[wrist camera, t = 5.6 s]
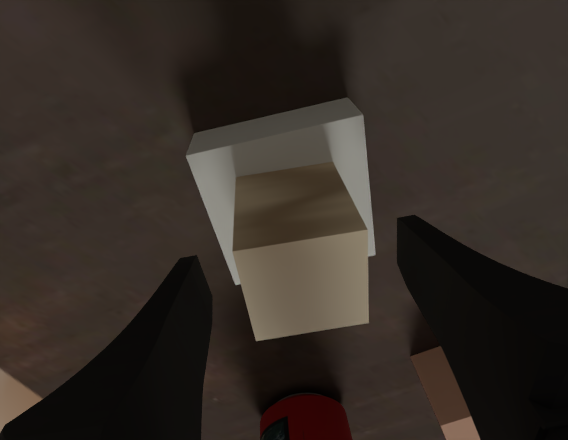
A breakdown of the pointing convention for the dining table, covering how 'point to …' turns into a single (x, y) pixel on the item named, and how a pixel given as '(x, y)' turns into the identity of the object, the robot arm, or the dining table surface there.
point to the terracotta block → (444, 395)
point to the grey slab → (280, 159)
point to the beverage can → (305, 419)
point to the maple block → (300, 251)
